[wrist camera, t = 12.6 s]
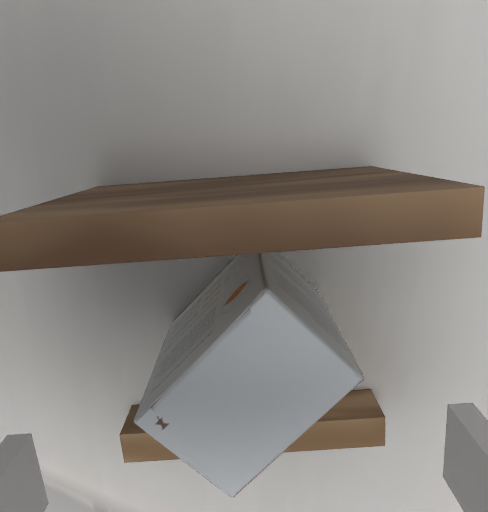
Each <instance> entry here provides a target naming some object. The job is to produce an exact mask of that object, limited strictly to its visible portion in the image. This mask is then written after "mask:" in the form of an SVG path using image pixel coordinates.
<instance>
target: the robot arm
mask: <svg viewBox="0 0 488 512" xmlns="http://www.w3.org/2000/svg"><path fill="white" fill-rule="evenodd" d="M443 477H444V479H445V481H446V482H447V484H448V486H449V488H450V489H451V491H452V493H453V494H454V496H455V498H456V499H457V501H458V503H459V504H460V506H461V508H462V509H463V511H464V512H488V420H487V419H486V418H485V417H484V416H483V414H482V413H481V412H480V411H479V410H478V409H477V408H476V406H475V405H474V404H473V403H461V404H448V409H447V424H446V438H445V453H444V468H443ZM47 505H48V499H47V495H46V491H45V487H44V483H43V479H42V475H41V471H40V467H39V463H38V459H37V455H36V451H35V447H34V443H33V439H32V435H31V433H30V434H16V435H7V436H6V437H5V438H4V440H3V441H2V442H1V444H0V512H44V511H45V509H46V507H47Z"/></svg>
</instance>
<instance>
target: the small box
mask: <svg viewBox="0 0 488 512" xmlns="http://www.w3.org/2000/svg"><path fill="white" fill-rule="evenodd" d="M363 380H364V376H363V374H362V372H361V370H360V368H359V366H358V364H357V363H356V361H355V359H354V357H353V355H352V353H351V352H350V350H349V348H348V346H347V344H346V342H345V340H344V339H343V337H342V335H341V333H340V331H339V329H338V327H337V325H336V323H335V322H334V320H333V318H332V316H331V314H330V313H329V311H328V309H327V307H326V305H325V303H324V301H323V299H322V298H321V296H320V294H319V292H318V291H317V290H316V289H315V288H314V287H313V286H312V285H311V284H309V283H308V282H307V281H306V280H305V279H304V278H303V277H302V276H301V275H300V274H299V273H298V272H297V271H296V270H295V269H293V268H292V267H291V266H290V265H289V264H288V263H287V262H286V261H285V260H284V259H283V258H282V257H281V256H279V255H278V254H277V253H276V252H267V253H253V254H239V255H237V256H236V257H235V258H234V259H233V260H232V261H231V262H230V263H229V264H228V265H227V266H226V267H225V268H224V269H223V270H222V271H221V272H220V273H219V274H218V275H217V277H216V278H215V279H214V280H213V281H212V282H211V283H210V284H209V285H208V286H207V287H206V288H205V289H204V290H203V291H202V292H201V293H200V294H199V295H198V296H197V297H196V299H195V300H194V301H193V302H192V303H191V304H190V305H189V306H188V307H187V308H186V309H185V310H184V311H183V312H182V313H181V314H180V315H179V316H178V317H177V318H176V319H175V320H174V321H173V322H172V324H171V327H170V329H169V332H168V334H167V336H166V339H165V341H164V344H163V346H162V349H161V351H160V354H159V357H158V359H157V362H156V364H155V367H154V369H153V372H152V375H151V377H150V380H149V383H148V385H147V388H146V391H145V393H144V396H143V398H142V401H141V403H140V406H139V408H138V411H137V414H136V416H135V418H134V423H135V424H136V425H138V426H139V427H140V428H141V429H143V430H144V431H145V432H147V433H148V434H149V435H150V436H152V437H153V438H154V439H155V440H157V441H158V442H159V443H161V444H162V445H163V446H164V447H166V448H167V449H168V450H170V451H171V452H172V453H174V454H175V455H176V456H178V457H179V458H180V459H181V460H183V461H184V462H185V463H187V464H188V465H189V466H191V467H192V468H193V469H194V470H196V471H197V472H198V473H200V474H201V475H202V476H204V477H205V478H206V479H207V480H209V481H210V482H211V483H213V484H214V485H215V486H217V487H218V488H219V489H221V490H222V491H224V492H225V493H226V494H228V495H229V496H230V497H234V496H235V495H236V494H238V493H239V492H240V491H241V490H242V489H243V488H244V487H245V486H246V485H247V484H249V483H250V482H251V481H252V480H253V479H254V478H255V477H256V476H257V475H259V474H260V473H261V472H262V471H263V470H264V469H265V468H266V467H267V466H268V465H269V464H271V463H272V462H273V461H274V460H275V459H276V458H277V457H278V456H279V455H280V454H281V453H283V452H284V451H285V450H286V449H287V448H288V447H289V446H290V445H291V444H293V443H294V442H295V441H296V440H297V439H298V438H299V437H300V436H302V435H303V434H304V433H305V432H306V431H307V430H308V429H309V428H310V427H311V426H312V425H314V424H315V423H316V422H317V421H318V420H319V419H320V418H321V417H322V416H324V415H325V414H326V413H327V412H328V411H329V410H330V409H331V408H332V407H333V406H335V405H336V404H337V403H338V402H339V401H340V400H341V399H342V398H344V397H345V396H346V395H347V394H348V393H349V392H350V391H351V390H353V389H354V388H355V387H356V386H357V385H358V384H359V383H361V382H362V381H363Z"/></svg>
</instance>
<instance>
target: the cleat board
mask: <svg viewBox="0 0 488 512" xmlns="http://www.w3.org/2000/svg"><path fill="white" fill-rule="evenodd" d="M484 189H485V187H484V186H478V185H473V184H467V183H462V182H456V181H450V180H445V179H439V178H434V177H428V176H423V175H417V174H411V173H406V172H400V171H395V170H389V169H384V168H378V167H372V166H369V167H355V168H342V169H328V170H315V171H301V172H288V173H274V174H261V175H247V176H234V177H220V178H207V179H193V180H180V181H166V182H153V183H139V184H126V185H112V186H99V187H94V188H91V189H88V190H84V191H81V192H78V193H74V194H71V195H68V196H64V197H61V198H58V199H55V200H51V201H48V202H45V203H41V204H38V205H35V206H31V207H28V208H25V209H21V210H18V211H15V212H11V213H8V214H5V215H1V216H0V272H2V271H16V270H30V269H44V268H58V267H72V266H86V265H99V264H113V263H127V262H141V261H155V260H169V259H183V258H197V257H211V256H225V255H239V254H253V253H267V252H281V251H295V250H309V249H323V248H337V247H351V246H365V245H379V244H393V243H406V242H420V241H434V240H448V239H462V238H476V237H481V232H482V217H483V203H484ZM139 406H140V405H132V406H131V409H130V411H129V414H128V416H127V418H126V421H125V423H124V426H123V428H122V430H121V433H120V440H121V446H122V452H123V458H124V463H127V462H143V461H158V460H173V459H180V458H179V457H178V456H176V455H175V454H174V453H172V452H171V451H170V450H168V449H167V448H166V447H164V446H163V445H162V444H161V443H159V442H158V441H157V440H155V439H154V438H153V437H152V436H150V435H149V434H148V433H147V432H145V431H144V430H143V429H141V428H140V427H139V426H138V425H136V424H135V423H134V418H135V416H136V414H137V411H138V408H139ZM373 446H385V416H384V414H383V412H382V410H381V408H380V406H379V404H378V402H377V400H376V399H375V397H374V395H373V393H372V391H371V389H369V390H354V391H350V392H349V393H348V394H347V395H346V396H345V397H344V398H342V399H341V400H340V401H339V402H338V403H337V404H336V405H335V406H333V407H332V408H331V409H330V410H329V411H328V412H327V413H326V414H325V415H324V416H322V417H321V418H320V419H319V420H318V421H317V422H316V423H315V424H314V425H312V426H311V427H310V428H309V429H308V430H307V431H306V432H305V433H304V434H303V435H302V436H300V437H299V438H298V439H297V440H296V441H295V442H294V443H293V444H291V445H290V446H289V447H288V448H287V449H286V450H285V451H284V452H296V451H312V450H327V449H342V448H358V447H373Z"/></svg>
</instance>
